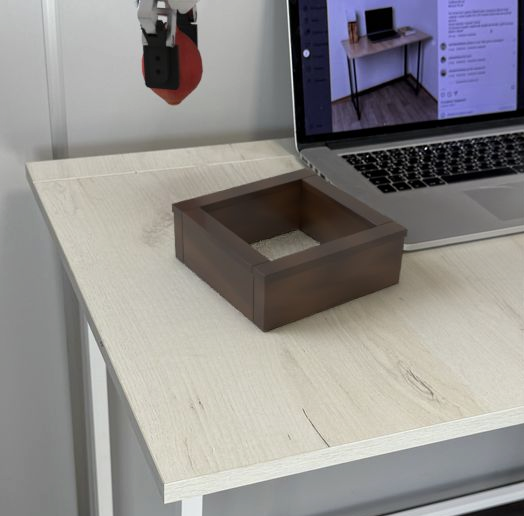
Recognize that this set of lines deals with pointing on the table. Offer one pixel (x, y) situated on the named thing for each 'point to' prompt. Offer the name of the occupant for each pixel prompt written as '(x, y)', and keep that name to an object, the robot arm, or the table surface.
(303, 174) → the wooden box
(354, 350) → the table surface
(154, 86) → the robot arm
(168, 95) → the red rounded tapered piece
